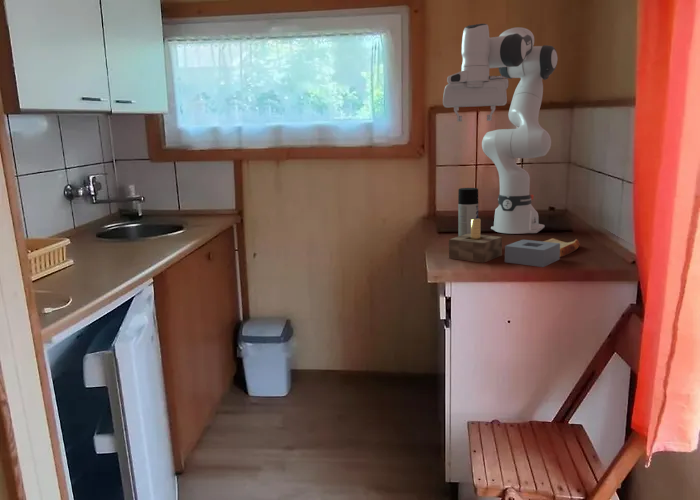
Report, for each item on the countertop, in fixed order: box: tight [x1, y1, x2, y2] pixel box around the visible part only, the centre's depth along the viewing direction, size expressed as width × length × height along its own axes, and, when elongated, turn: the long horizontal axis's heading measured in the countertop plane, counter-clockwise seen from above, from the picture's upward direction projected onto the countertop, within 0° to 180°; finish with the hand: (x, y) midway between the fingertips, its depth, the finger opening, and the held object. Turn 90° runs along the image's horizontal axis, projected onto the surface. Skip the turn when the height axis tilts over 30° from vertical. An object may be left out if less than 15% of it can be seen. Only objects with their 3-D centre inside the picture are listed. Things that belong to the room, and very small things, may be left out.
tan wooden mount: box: [448, 234, 503, 263], centre depth 182 cm, size 12×12×6 cm
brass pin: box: [471, 218, 482, 240], centre depth 181 cm, size 3×3×12 cm
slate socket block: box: [504, 239, 561, 268], centre depth 174 cm, size 12×12×5 cm
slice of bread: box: [542, 237, 581, 258], centre depth 187 cm, size 18×18×4 cm
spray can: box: [457, 187, 479, 237], centre depth 197 cm, size 7×7×20 cm
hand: (474, 121), depth 188 cm, fingers open, 8 cm apart
